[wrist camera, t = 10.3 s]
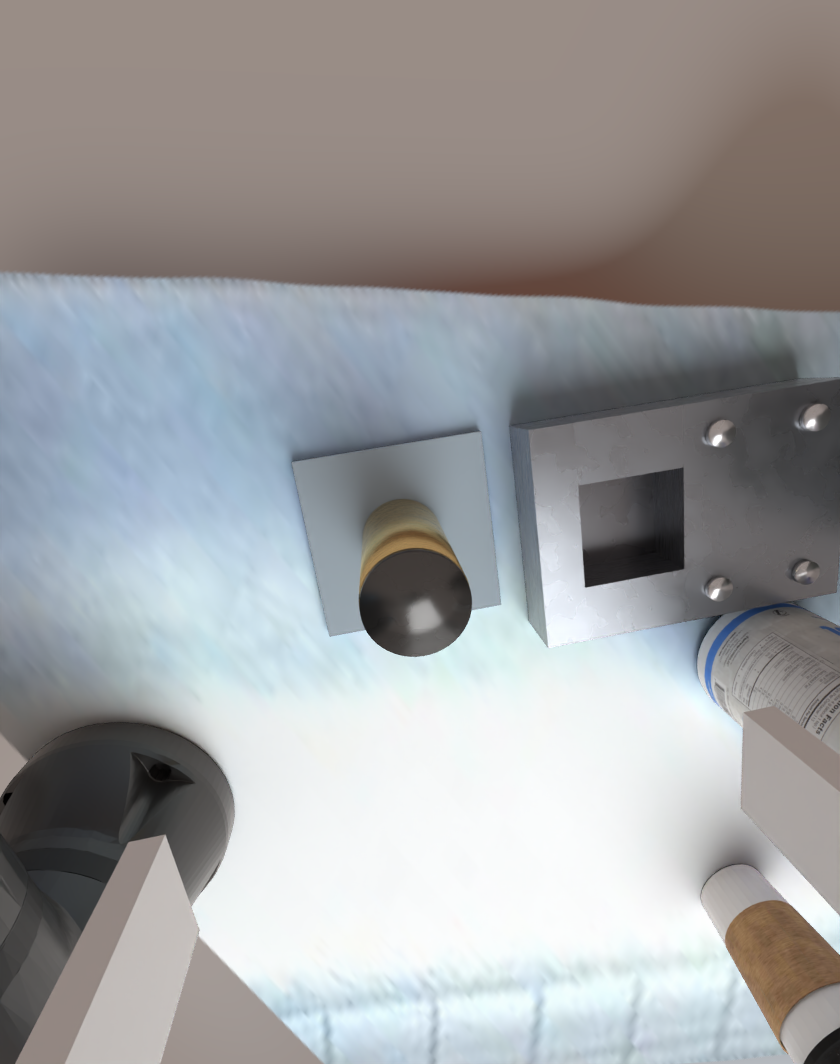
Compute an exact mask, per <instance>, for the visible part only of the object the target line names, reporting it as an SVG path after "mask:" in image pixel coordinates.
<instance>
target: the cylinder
mask: <svg viewBox="0 0 840 1064" xmlns="http://www.w3.org/2000/svg"><path fill="white" fill-rule="evenodd" d="M359 610H360V616H361V620H362V623H363V626H364V628H365V630H366V631H367V633H368V634H369V636H370V637H371V638H372V639H373V640H374V641H375V642H376V643H377V644H378V645H379V646H381V647H382V648H384V649H386V650H387V651H390V652H392V653H395V654H398V655H402V656H410V657H417V656H425V655H430V654H433V653H436V652H438V651H440V650H442V649H444V648H446V647H447V646H449V645H450V644H451V643H453V642H454V641H455V640H456V639H457V638H458V637H459V636H460V634H461V633H462V632H463V630H464V629H465V627H466V625H467V623H468V621H469V618H470V614H471V610H472V595H471V590H470V586H469V583H468V580H467V577H466V575H465V573H464V571H463V569H462V567H461V565H460V563H459V561H458V559H457V557H456V555H455V553H454V551H453V549H452V547H451V545H450V543H449V541H448V539H447V537H446V535H445V533H444V531H443V529H442V527H441V525H440V523H439V521H438V519H437V518H436V516H435V515H434V513H433V512H432V511H431V510H430V509H429V508H428V507H426V506H425V505H423V504H421V503H419V502H417V501H414V500H409V499H396V500H392V501H389V502H386V503H384V504H382V505H381V506H379V507H378V508H377V509H375V510H374V511H373V512H372V514H371V515H370V516H369V518H368V519H367V521H366V523H365V526H364V529H363V538H362V553H361V569H360V585H359Z"/></svg>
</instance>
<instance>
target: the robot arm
mask: <svg viewBox="0 0 840 1064" xmlns="http://www.w3.org/2000/svg"><path fill="white" fill-rule="evenodd" d="M741 809H742V810H743V811H744V812H745V813H746V814H747V816H748V817H749V818H750V819H751V820H752V821H753V822H754V823H755V824H756V825H757V826H758V828H759V829H760V830H761V831H762V832H763V833H764V834H765V835H766V836H767V837H768V838H769V839H770V841H771V842H772V843H773V844H774V845H775V846H776V847H777V848H778V849H779V850H780V851H781V852H782V854H783V855H784V856H785V857H786V858H787V859H788V860H789V861H790V862H791V863H792V864H793V866H794V867H795V868H796V869H797V870H798V871H799V872H800V873H801V874H802V875H803V876H804V877H805V879H806V880H807V881H808V882H809V883H810V884H811V885H812V886H813V887H814V888H815V889H816V890H817V892H818V893H819V894H820V895H821V896H822V897H823V898H824V899H825V900H826V901H827V902H828V904H829V905H830V906H831V907H832V908H833V909H834V910H835V911H836V912H837V913H838V914H839V915H840V755H839V754H838V753H837V752H835V751H834V750H833V749H831V748H830V747H829V746H827V745H826V744H825V743H823V742H822V741H821V740H819V739H818V738H817V737H815V736H814V735H813V734H811V733H810V732H809V731H807V730H806V729H805V728H803V727H802V726H801V725H799V724H798V723H797V722H795V721H794V720H793V719H791V718H790V717H789V716H787V715H786V714H785V713H783V712H782V711H781V710H779V709H778V708H777V707H775V706H771V707H766V708H761V709H757V710H752V711H747V712H743V744H742V782H741ZM233 824H234V801H233V796H232V792H231V790H230V787H229V784H228V782H227V780H226V778H225V776H224V775H223V773H222V772H221V770H220V769H219V767H218V766H217V765H216V764H215V762H214V761H213V760H212V759H211V758H210V757H209V756H208V755H207V754H206V753H205V752H203V751H202V750H201V749H200V748H198V747H197V746H195V745H194V744H192V743H191V742H189V741H188V740H186V739H184V738H182V737H180V736H178V735H176V734H173V733H171V732H169V731H166V730H163V729H159V728H156V727H152V726H147V725H142V724H134V723H104V724H97V725H91V726H87V727H83V728H80V729H76V730H74V731H71V732H68V733H66V734H64V735H62V736H60V737H58V738H56V739H54V740H53V741H51V742H50V743H48V744H47V745H45V746H44V747H43V748H41V749H40V750H39V751H38V752H37V753H36V754H35V755H34V756H33V757H32V758H31V759H30V760H29V761H28V762H27V763H26V765H25V766H24V767H23V768H22V769H21V770H20V771H19V772H18V774H17V775H16V776H15V777H14V778H13V779H12V781H11V782H10V783H9V785H8V786H7V788H6V789H5V791H4V792H3V794H2V796H1V798H0V1064H160V1062H161V1059H162V1055H163V1052H164V1049H165V1045H166V1042H167V1039H168V1035H169V1032H170V1029H171V1025H172V1022H173V1018H174V1015H175V1012H176V1008H177V1005H178V1002H179V998H180V995H181V991H182V988H183V984H184V981H185V978H186V975H187V971H188V968H189V964H190V961H191V958H192V954H193V951H194V947H195V944H196V941H197V937H198V934H199V931H200V930H199V927H198V924H197V922H196V919H195V916H194V913H193V910H192V908H191V906H192V905H193V903H194V902H195V900H196V899H197V897H198V896H199V894H200V893H201V892H202V891H203V890H204V888H205V887H206V886H207V885H208V883H209V882H210V881H211V880H212V878H213V877H214V875H215V874H216V872H217V870H218V868H219V867H220V864H221V862H222V860H223V858H224V855H225V852H226V849H227V845H228V842H229V839H230V835H231V832H232V828H233Z"/></svg>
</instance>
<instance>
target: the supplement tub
mask: <svg viewBox="0 0 840 1064" xmlns="http://www.w3.org/2000/svg"><path fill="white" fill-rule="evenodd" d="M697 670H698V676H699V680H700V682H701V685H702V687H703V689H704V691H705V692H706V694H707V695H708V696H709V697H710V698H711V699H712V700H713V701H714V702H715V703H716V704H717V705H718V706H719V707H720V708H721V709H722V710H724V711H725V712H726V713H727V714H728V715H729V716H730V717H731V718H732V719H733V720H735V721H736V722H737V723H738V724H739V725H740V726H741V727H742V728H743V712H747V711H752V710H757V709H761V708H766V707H771V706H775V707H777V708H778V709H779V710H781V711H782V712H783V713H785V714H786V715H787V716H789V717H790V718H791V719H793V720H794V721H795V722H797V723H798V724H799V725H801V726H802V727H803V728H805V729H806V730H807V731H809V732H810V733H811V734H813V735H814V736H815V737H817V738H818V739H819V740H821V741H822V742H823V743H825V744H826V745H827V746H829V747H830V748H831V749H833V750H834V751H835V752H837V753H838V754H839V755H840V626H838V625H836V624H834V623H832V622H830V621H828V620H826V619H824V618H822V617H820V616H818V615H816V614H814V613H812V612H810V611H808V610H806V609H804V608H801V607H799V606H797V605H795V604H793V603H790V602H784V603H779V604H774V605H769V606H763V607H758V608H753V609H748V610H743V611H738V612H732V613H727V614H724V615H723V616H722V617H720V618H719V619H718V620H717V621H716V622H715V623H714V625H713V626H712V627H711V628H710V629H709V631H708V632H707V634H706V636H705V637H704V639H703V641H702V644H701V647H700V650H699V653H698V661H697Z"/></svg>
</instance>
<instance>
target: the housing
mask: <svg viewBox="0 0 840 1064" xmlns="http://www.w3.org/2000/svg"><path fill="white" fill-rule="evenodd" d="M509 428H510V438H511V448H512V458H513V468H514V478H515V488H516V498H517V508H518V518H519V528H520V538H521V548H522V558H523V568H524V578H525V588H526V598H527V608H528V617H529V622H530V624H531V625H532V627H533V628H534V629H535V631H536V632H537V633H538V635H539V636H540V638H541V639H542V640H543V642H544V643H545V644H546V646H547V647H548V648H551V647H557V646H562V645H567V644H572V643H577V642H582V641H588V640H593V639H598V638H603V637H608V636H613V635H619V634H624V633H629V632H634V631H639V630H644V629H650V628H655V627H660V626H665V625H670V624H676V623H681V622H686V621H691V620H696V619H701V618H707V617H712V616H717V615H722V614H727V613H732V612H738V611H743V610H748V609H753V608H758V607H763V606H769V605H774V604H779V603H784V602H789V601H795V600H800V599H805V598H810V597H815V596H820V595H826V594H831V593H836V592H837V580H838V567H839V555H840V377H833V378H801V379H793V380H787V381H781V382H775V383H769V384H763V385H757V386H751V387H744V388H738V389H732V390H726V391H720V392H714V393H708V394H702V395H695V396H689V397H683V398H677V399H671V400H665V401H659V402H653V403H647V404H640V405H634V406H628V407H622V408H616V409H610V410H604V411H598V412H592V413H585V414H579V415H573V416H567V417H561V418H555V419H549V420H543V421H536V422H530V423H524V424H518V425H512V426H509Z"/></svg>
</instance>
